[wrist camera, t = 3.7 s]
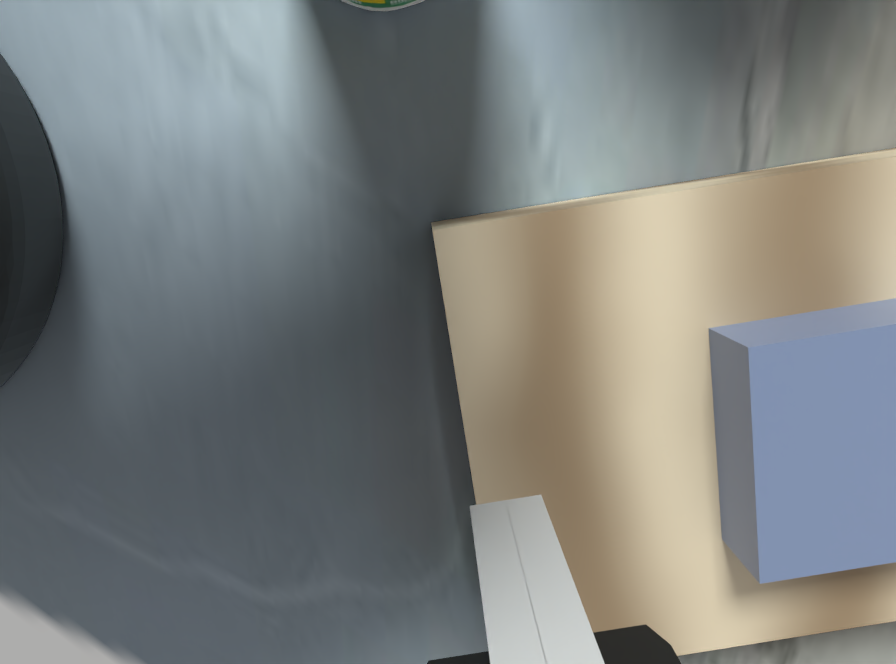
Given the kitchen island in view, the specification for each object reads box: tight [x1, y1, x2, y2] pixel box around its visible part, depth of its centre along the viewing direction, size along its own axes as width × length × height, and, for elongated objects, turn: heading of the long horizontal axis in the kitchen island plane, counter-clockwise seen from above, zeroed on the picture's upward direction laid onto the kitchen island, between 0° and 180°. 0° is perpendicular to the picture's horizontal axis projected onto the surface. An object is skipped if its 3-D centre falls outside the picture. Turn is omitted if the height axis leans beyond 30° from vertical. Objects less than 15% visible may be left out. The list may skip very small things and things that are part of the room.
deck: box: [431, 148, 896, 656], centre depth 18 cm, size 18×13×4 cm
